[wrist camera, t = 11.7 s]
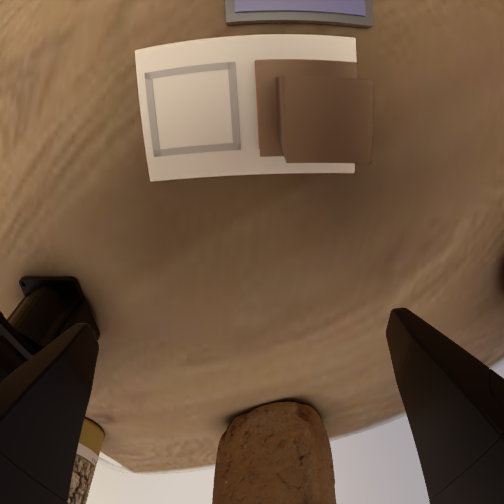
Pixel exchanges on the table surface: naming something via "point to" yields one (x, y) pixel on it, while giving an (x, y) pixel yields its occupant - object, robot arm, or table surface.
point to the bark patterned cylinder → (85, 462)
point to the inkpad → (300, 12)
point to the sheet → (219, 103)
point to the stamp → (314, 111)
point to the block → (275, 458)
